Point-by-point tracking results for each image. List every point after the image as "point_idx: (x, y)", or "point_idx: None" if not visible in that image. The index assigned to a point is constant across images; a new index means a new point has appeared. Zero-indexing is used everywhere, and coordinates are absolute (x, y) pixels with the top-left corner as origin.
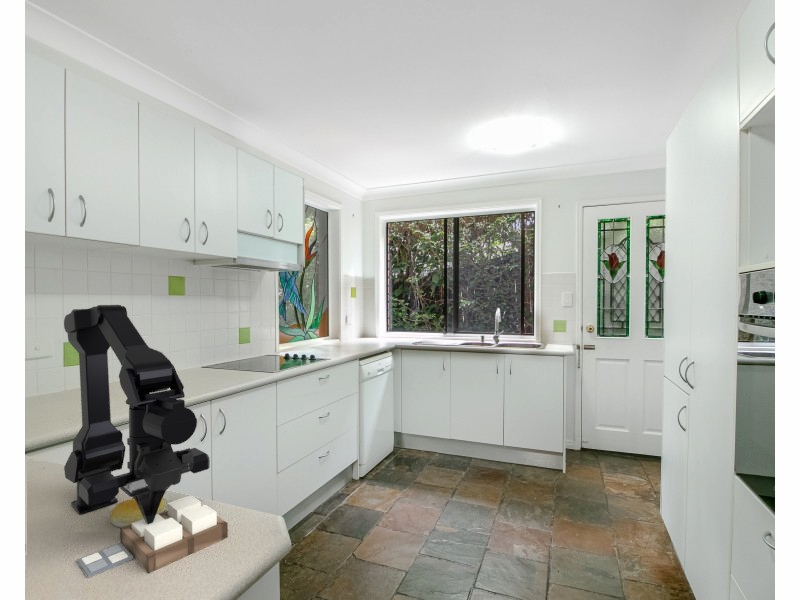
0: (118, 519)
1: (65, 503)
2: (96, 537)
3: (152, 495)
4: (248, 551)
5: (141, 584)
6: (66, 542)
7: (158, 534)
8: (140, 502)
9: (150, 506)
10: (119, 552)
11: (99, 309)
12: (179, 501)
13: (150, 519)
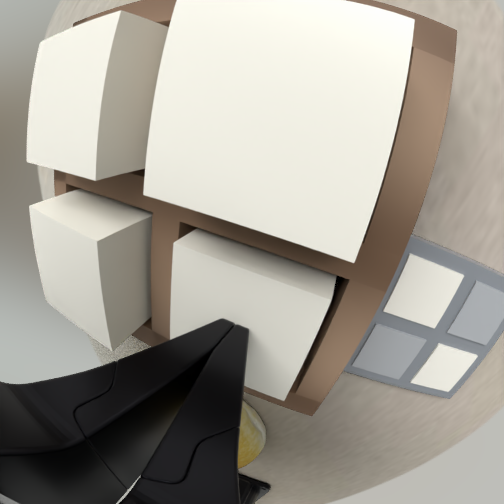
0: (256, 441)
1: (258, 500)
2: (325, 435)
3: (118, 451)
4: None
5: (480, 33)
6: (365, 461)
7: (369, 21)
8: (238, 499)
9: (177, 401)
10: (392, 318)
11: None
12: (75, 308)
13: (227, 335)
